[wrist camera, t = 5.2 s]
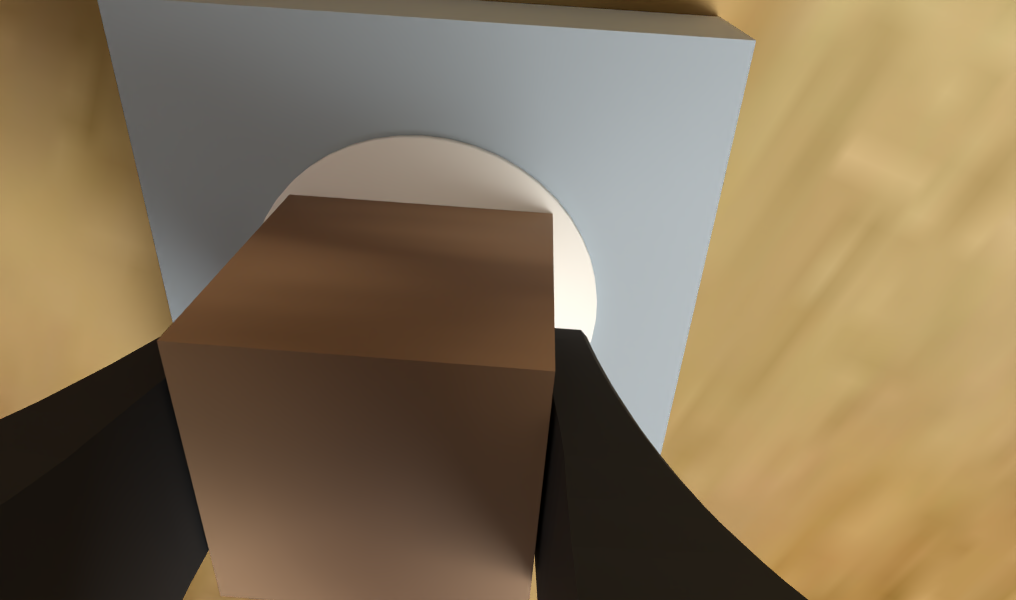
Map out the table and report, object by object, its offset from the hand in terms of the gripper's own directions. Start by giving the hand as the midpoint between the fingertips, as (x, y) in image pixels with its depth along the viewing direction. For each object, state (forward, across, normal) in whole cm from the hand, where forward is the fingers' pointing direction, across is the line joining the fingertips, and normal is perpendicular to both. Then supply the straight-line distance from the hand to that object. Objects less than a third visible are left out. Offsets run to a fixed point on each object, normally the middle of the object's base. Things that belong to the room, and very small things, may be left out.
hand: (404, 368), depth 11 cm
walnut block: (+2, 0, 0) cm, 2 cm away
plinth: (+5, 0, 0) cm, 5 cm away
